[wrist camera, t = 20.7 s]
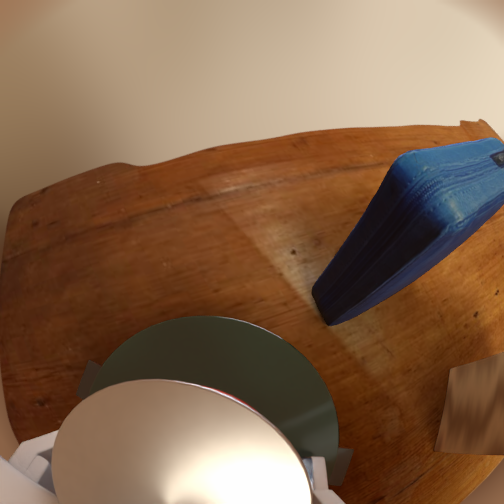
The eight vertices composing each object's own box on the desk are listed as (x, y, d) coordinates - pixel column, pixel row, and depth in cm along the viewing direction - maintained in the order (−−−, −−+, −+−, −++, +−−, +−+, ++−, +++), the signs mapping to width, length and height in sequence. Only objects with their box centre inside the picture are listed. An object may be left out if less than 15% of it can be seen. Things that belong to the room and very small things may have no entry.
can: (244, 500, 12) (263, 609, 2) (140, 464, 12) (35, 520, 3) (278, 409, 15) (352, 422, 5) (174, 374, 16) (90, 331, 6)
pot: (290, 518, 17) (316, 563, 9) (95, 451, 19) (42, 465, 11) (340, 374, 25) (388, 360, 17) (148, 311, 27) (115, 272, 18)
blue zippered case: (398, 246, 32) (493, 125, 15) (420, 281, 30) (534, 175, 13) (302, 291, 29) (392, 133, 11) (326, 337, 27) (466, 224, 9)
